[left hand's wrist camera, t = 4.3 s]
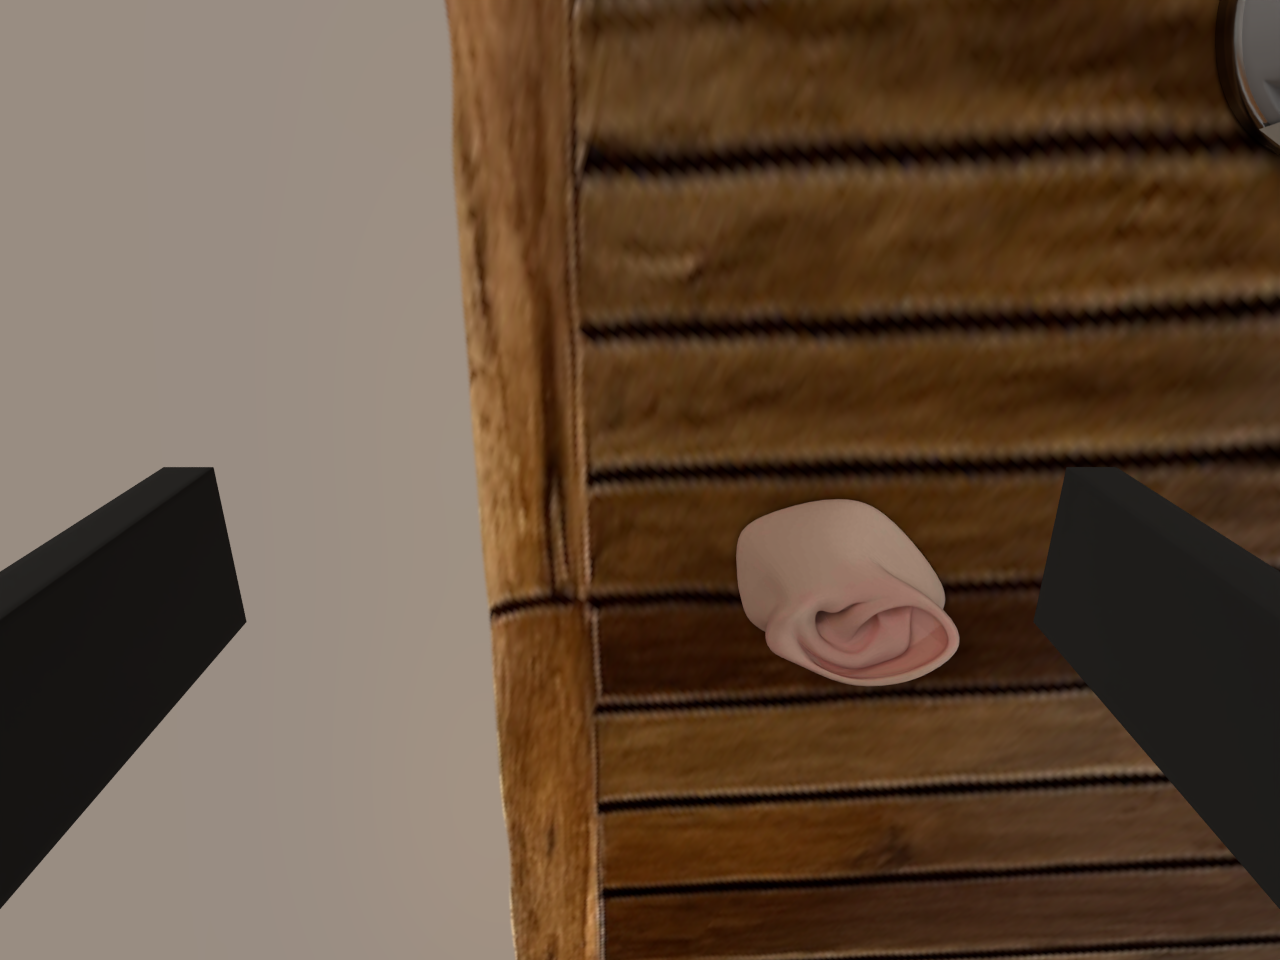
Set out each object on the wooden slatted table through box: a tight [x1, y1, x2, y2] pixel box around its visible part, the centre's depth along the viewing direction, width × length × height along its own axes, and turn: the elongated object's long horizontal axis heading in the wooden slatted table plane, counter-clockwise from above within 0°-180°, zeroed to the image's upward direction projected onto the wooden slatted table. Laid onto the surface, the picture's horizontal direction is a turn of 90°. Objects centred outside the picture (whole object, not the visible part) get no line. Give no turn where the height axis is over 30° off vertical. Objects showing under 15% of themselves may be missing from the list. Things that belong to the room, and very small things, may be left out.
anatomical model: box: [736, 499, 959, 686], centre depth 48 cm, size 13×4×12 cm
